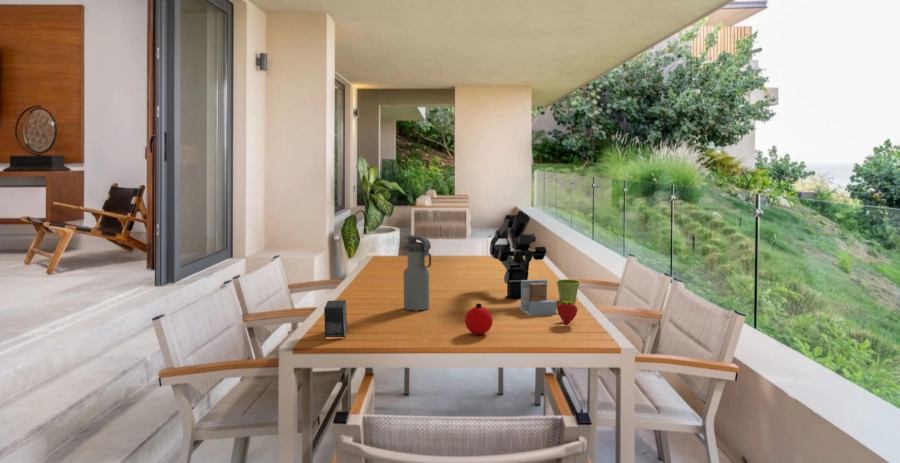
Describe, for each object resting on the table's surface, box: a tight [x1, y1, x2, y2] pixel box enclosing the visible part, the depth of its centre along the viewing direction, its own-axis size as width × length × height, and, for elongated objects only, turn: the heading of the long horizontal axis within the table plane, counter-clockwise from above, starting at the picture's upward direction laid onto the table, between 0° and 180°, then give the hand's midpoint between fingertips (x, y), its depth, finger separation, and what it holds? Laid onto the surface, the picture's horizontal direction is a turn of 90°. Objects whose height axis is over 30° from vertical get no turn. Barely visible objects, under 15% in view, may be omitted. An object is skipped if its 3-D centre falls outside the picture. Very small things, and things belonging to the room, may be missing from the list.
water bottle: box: [403, 235, 432, 312], centre depth 235 cm, size 10×10×28 cm
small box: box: [323, 299, 348, 338], centre depth 199 cm, size 11×6×10 cm, turn 5°
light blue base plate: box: [517, 305, 559, 317], centre depth 228 cm, size 14×11×1 cm
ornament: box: [464, 303, 494, 336], centre depth 199 cm, size 9×9×10 cm
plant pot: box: [555, 278, 581, 303], centre depth 244 cm, size 9×9×9 cm
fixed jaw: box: [529, 299, 557, 316], centre depth 223 cm, size 2×10×4 cm, turn 101°
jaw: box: [520, 278, 548, 307], centre depth 232 cm, size 2×10×10 cm, turn 102°
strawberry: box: [556, 299, 578, 326], centre depth 210 cm, size 6×8×10 cm
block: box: [530, 283, 546, 302], centre depth 228 cm, size 4×5×10 cm
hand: (526, 270), depth 240 cm, fingers closed
